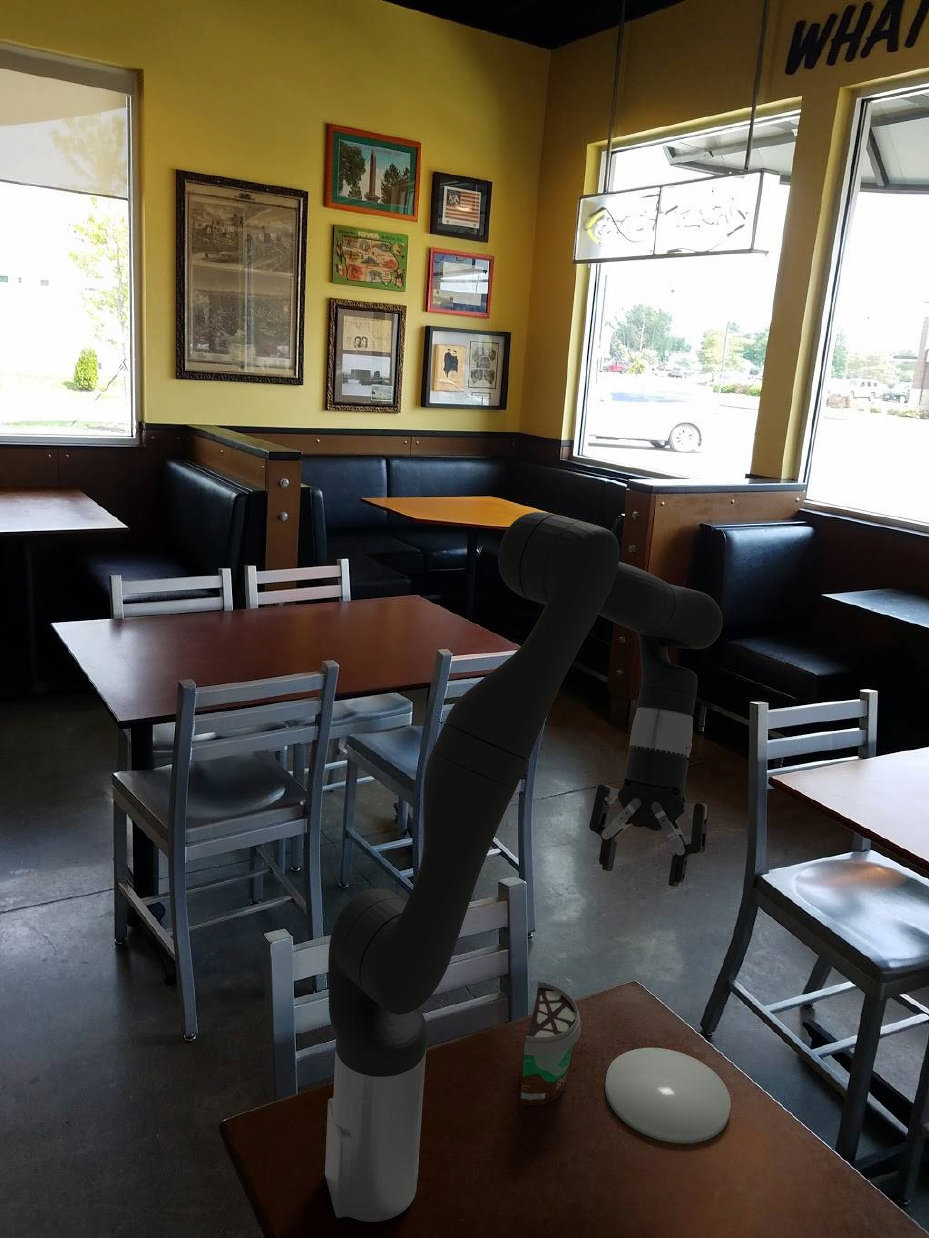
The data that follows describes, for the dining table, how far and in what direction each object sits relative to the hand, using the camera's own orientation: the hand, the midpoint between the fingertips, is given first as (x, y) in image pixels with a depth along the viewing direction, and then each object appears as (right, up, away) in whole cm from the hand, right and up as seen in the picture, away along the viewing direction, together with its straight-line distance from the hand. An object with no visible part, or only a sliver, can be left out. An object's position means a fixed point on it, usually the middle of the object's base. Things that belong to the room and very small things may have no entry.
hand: (639, 878), depth 120 cm
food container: (-11, -26, 0) cm, 28 cm away
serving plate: (+3, -27, -1) cm, 27 cm away
